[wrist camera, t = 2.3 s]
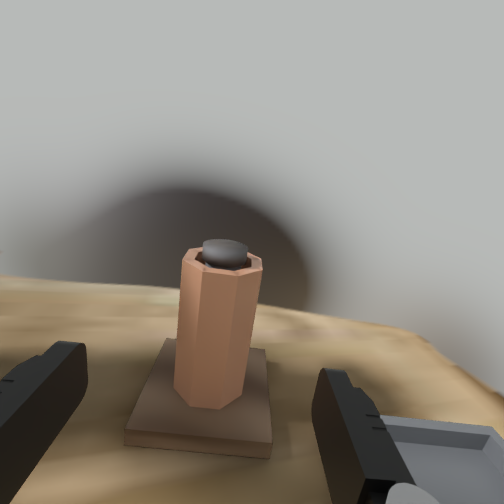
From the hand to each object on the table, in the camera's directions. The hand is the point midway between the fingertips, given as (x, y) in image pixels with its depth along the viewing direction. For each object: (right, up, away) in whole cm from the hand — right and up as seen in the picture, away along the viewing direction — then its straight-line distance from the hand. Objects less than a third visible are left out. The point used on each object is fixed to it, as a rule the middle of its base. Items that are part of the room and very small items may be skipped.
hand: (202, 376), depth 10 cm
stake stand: (-2, -8, +15) cm, 17 cm away
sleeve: (-2, -7, +14) cm, 16 cm away
